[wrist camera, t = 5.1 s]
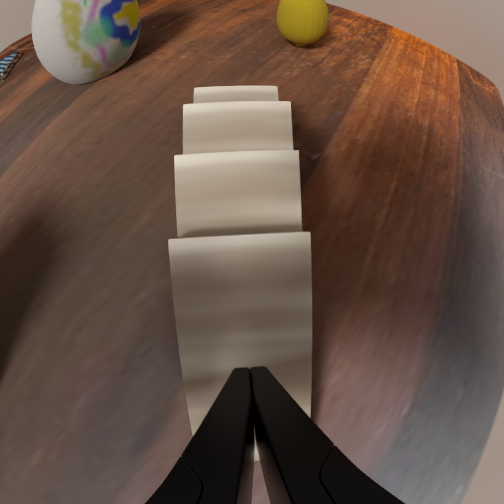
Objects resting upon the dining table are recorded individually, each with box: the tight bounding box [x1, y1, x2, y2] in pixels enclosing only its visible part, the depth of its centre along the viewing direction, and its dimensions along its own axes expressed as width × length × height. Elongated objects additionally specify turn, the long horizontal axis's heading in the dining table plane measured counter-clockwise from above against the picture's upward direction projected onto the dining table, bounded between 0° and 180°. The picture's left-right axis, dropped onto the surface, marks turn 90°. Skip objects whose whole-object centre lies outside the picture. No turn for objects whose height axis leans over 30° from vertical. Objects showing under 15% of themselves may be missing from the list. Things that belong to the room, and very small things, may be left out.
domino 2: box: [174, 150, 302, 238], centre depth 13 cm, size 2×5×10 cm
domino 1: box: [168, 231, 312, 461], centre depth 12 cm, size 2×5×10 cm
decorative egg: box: [32, 0, 140, 85], centre depth 21 cm, size 12×12×15 cm
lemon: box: [277, 0, 329, 47], centre depth 26 cm, size 6×6×8 cm
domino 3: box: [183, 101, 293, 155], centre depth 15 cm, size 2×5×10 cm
